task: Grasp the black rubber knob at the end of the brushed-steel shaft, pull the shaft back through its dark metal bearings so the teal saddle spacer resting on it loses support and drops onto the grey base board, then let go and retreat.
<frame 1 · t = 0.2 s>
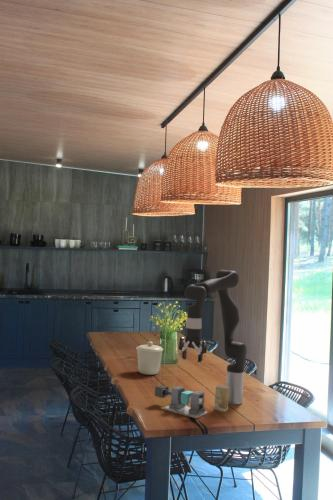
hand: (191, 360, 245), 29 cm above the table, fingers open, 8 cm apart
canister: (148, 373, 337), on the table
skincare box: (221, 410, 266), on the table
bearing stand: (185, 411, 260), on the table
shaft: (179, 395, 262), point 7 cm above the table, slide at 0.0 cm, touching spacer
spacer: (187, 403, 259), point 4 cm above the table, touching shaft
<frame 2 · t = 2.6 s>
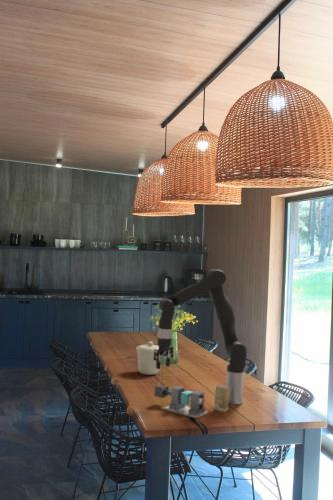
hand: (162, 367, 269), 20 cm above the table, fingers open, 8 cm apart
nothing on the table moved.
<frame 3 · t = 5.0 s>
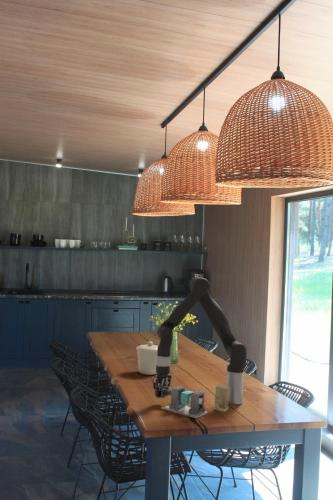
hand: (161, 396, 269), 4 cm above the table, fingers closed on shaft, 5 cm apart
shaft: (179, 395, 262), point 7 cm above the table, slide at 0.0 cm, touching gripper, spacer
everything else where it was.
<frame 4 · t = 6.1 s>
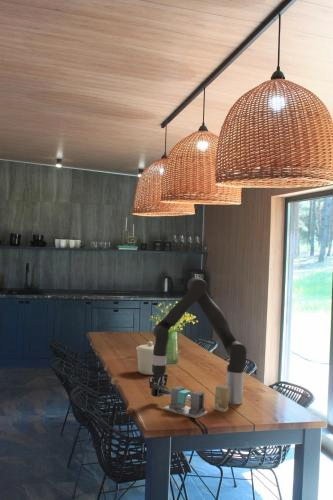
hand: (157, 395, 271), 4 cm above the table, fingers closed on shaft, 5 cm apart
shaft: (175, 394, 264), point 7 cm above the table, slide at 2.5 cm, touching gripper
spacer: (184, 402, 261), point 4 cm above the table
everything else where it was.
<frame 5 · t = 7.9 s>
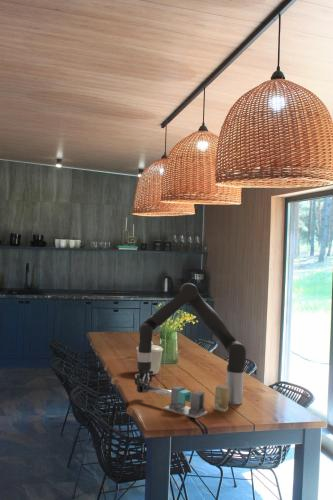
hand: (142, 391, 276), 4 cm above the table, fingers closed on shaft, 5 cm apart
shaft: (159, 390, 270), point 7 cm above the table, slide at 12.4 cm, touching gripper, spacer
spacer: (184, 402, 261), point 4 cm above the table, touching bearing stand, shaft
everything else where it was.
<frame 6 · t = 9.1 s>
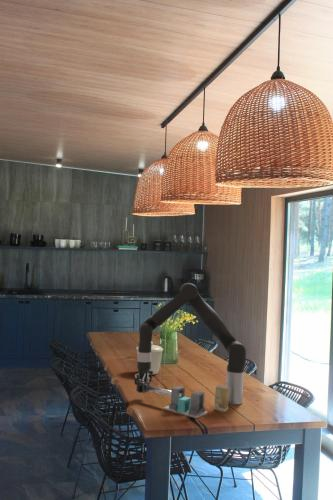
hand: (142, 391, 277), 4 cm above the table, fingers closed on shaft, 5 cm apart
shaft: (159, 390, 270), point 7 cm above the table, slide at 12.6 cm, touching gripper
spacer: (183, 409, 260), point 1 cm above the table, touching bearing stand
everything else where it was.
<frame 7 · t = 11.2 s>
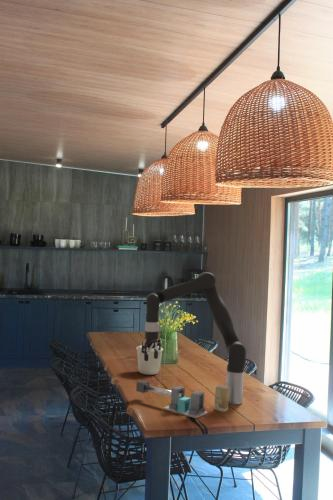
hand: (151, 359, 278), 22 cm above the table, fingers open, 8 cm apart
shaft: (159, 390, 270), point 7 cm above the table, slide at 12.7 cm
everything else where it was.
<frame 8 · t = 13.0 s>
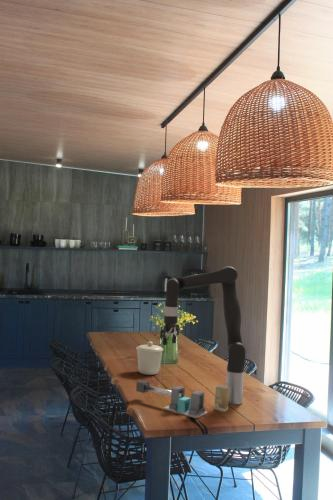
hand: (169, 344, 281), 30 cm above the table, fingers open, 8 cm apart
nothing on the table moved.
at the end: shaft slide at 12.7 cm; spacer point 0.8 cm above the table; the gripper is holding nothing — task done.
